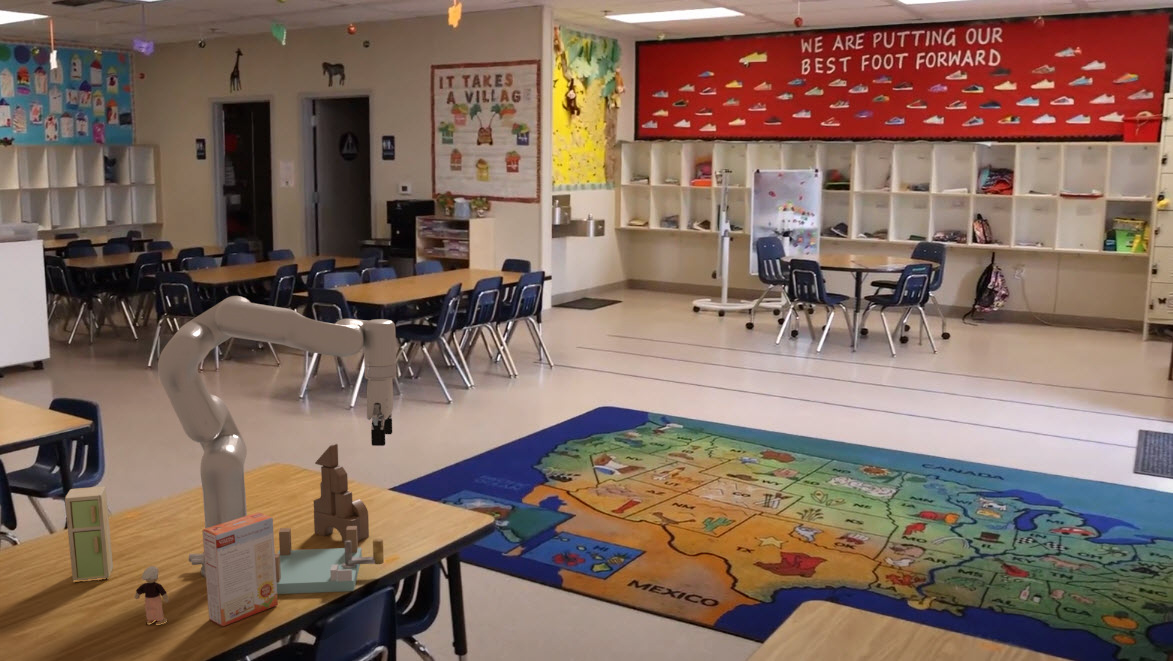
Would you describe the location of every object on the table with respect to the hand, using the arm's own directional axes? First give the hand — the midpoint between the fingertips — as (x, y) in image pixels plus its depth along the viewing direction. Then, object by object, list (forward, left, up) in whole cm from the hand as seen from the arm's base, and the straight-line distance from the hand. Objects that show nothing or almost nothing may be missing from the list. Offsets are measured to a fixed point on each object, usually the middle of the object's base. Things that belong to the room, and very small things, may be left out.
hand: (382, 439), depth 258 cm
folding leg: (-4, -10, -27) cm, 30 cm away
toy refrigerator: (-68, -5, -31) cm, 75 cm away
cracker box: (-29, -28, -31) cm, 51 cm away
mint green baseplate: (-16, -9, -30) cm, 35 cm away
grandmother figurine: (-47, -31, -31) cm, 64 cm away
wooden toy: (-13, +17, -31) cm, 37 cm away
